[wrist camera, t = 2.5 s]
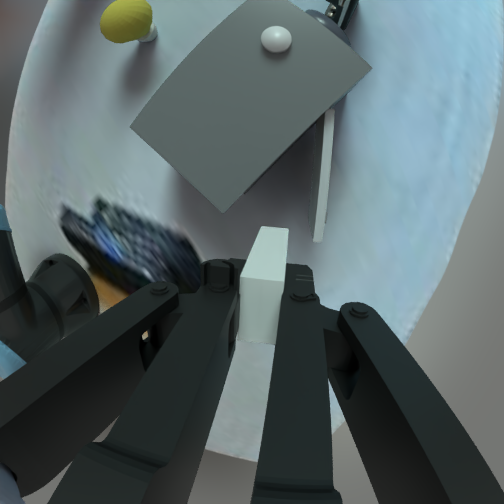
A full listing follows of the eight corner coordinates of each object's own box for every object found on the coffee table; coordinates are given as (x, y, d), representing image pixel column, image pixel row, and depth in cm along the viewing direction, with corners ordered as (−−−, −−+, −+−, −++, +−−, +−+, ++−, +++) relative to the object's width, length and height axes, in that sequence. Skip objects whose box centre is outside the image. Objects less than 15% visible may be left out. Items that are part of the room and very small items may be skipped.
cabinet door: (319, 218, 34) (328, 243, 25) (307, 217, 34) (313, 241, 25) (328, 121, 30) (341, 110, 21) (316, 119, 30) (325, 108, 21)
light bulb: (162, 8, 27) (128, -20, 18) (178, 37, 29) (144, 10, 19) (124, 33, 29) (84, 13, 20) (138, 63, 31) (96, 46, 21)
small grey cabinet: (245, 193, 35) (220, 216, 23) (178, 131, 34) (124, 126, 22) (357, 84, 28) (389, 53, 17) (285, 23, 27) (279, -29, 15)
